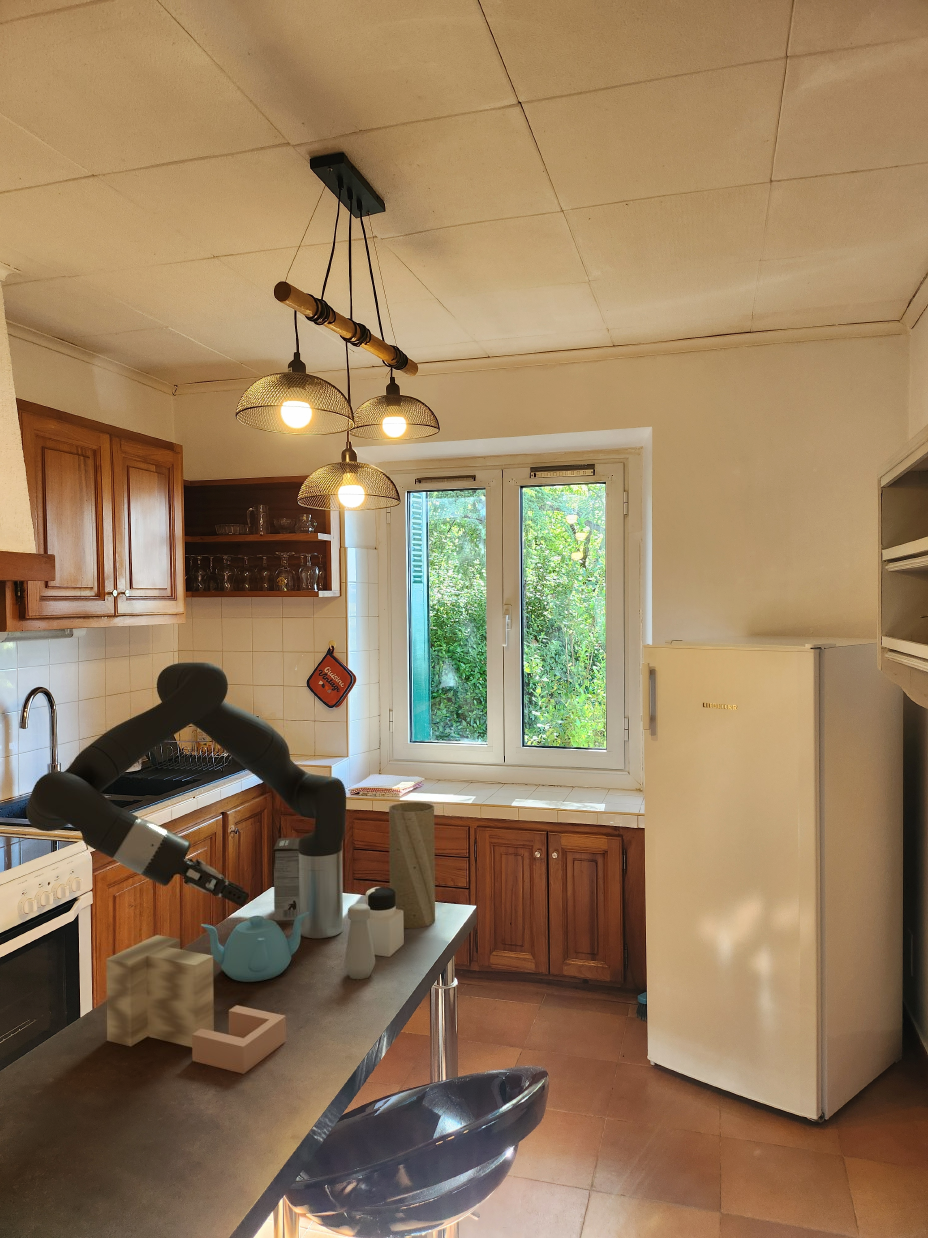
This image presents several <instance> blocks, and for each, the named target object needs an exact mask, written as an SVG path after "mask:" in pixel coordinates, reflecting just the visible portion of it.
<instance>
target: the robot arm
mask: <svg viewBox="0 0 928 1238" xmlns="http://www.w3.org/2000/svg"><path fill="white" fill-rule="evenodd" d="M156 679H157V680H156V692H157V695H158V697H159V699H160V703H158V704H157V705H155V706H153V707H151V708H149V709H148V710H146V711H144V712H141V713H140V714H137V715H135V716H133V717H131V718H129V719H127V720H125V721H123V722H121V723H119V724H117V725H115V726H114V727H112V728H111V729H109V730H107V731H106V732H105V733H103V734H101V736H99V737H98V738H97V739H95V740H94V741H93V742H92V743H90V744H89V745H88V746H86V747H85V748H83V750H81V751H80V753H78V754H77V755H76V757H75V758H73V759H74V760H73V761H72V763H71V764H70V766H68V767H67V768H66V769H65V770H64V771H60V770H59V771H58V770H57V771H51V772H50V771H49V772H48V773H45V774H43V775H42V776H41V777H40V778H39V779H38V780H37V781H36V782H35V785H34V786H33V788H32V791H31V793H30V796H29V799H28V801H27V803H26V804H27V805H26V810H25V811H26V819H27V820H28V822H29V825H31V826H32V827H33V828H35V829H36V830H38V831H42V832H54V831H59V830H61V829H63V828H64V827H66V826H68V825H70V826H72V827H73V828H74V829H76V830H78V831H79V832H80V834H81V835H82V836H81V837H82V841H83V842H84V843H85V844H86V845H87V846H88V847H90V849H94V850H95V851H98V853H101V854H103V855H105V856H107V857H109V858H111V859H113V860H115V861H116V862H118V863H119V864H121V865H122V866H124V867H125V868H127V869H128V870H131V871H132V872H134V873H136V874H139V875H141V876H142V877H144V878H146V879H149V880H151V881H153V882H154V883H157V884H159V885H161V886H163V887H166V886H168V885H169V884H170V883H171V882H172V880H173V878H174V877H175V876H176V875H179V876H181V877H183V878H182V879H183V884H185V885H187V886H189V887H191V888H196V889H197V890H199V891H201V892H202V893H205V894H211V895H212V896H213V897H217V898H223V899H225V900H227V901H229V902H231V903H233V904H235V905H237V906H239V907H244V906H245V905H246V903H247V901H248V900H249V898H250V893H249V892H247V891H245V890H244V887H242V886H240V885H238V884H236V883H235V882H232V881H231V880H228V879H227V878H225V876H223V874H221V873H219V872H218V871H217V869H215V868H213V867H212V866H211V865H210V866H209V865H208V864H207V863H206V862H204V861H202V860H200V859H199V858H196V859H195V860H194V859H193V858H186V856H187V855H188V853H189V852H190V850H191V847H192V844H191V842H190V840H187V839H185V838H184V837H182V836H180V835H179V834H176V833H174V832H172V831H170V830H168V829H166V828H164V827H163V826H161V825H159V824H157V823H154V822H153V821H149V820H147V819H144V818H141V817H139V816H138V815H135V814H134V813H131V812H130V811H128V810H126V809H124V808H122V807H120V806H117V805H116V804H114V803H113V802H112V801H110V800H109V798H107V797H106V796H105V795H104V794H103V793H102V792H103V790H105V789H106V788H107V787H109V786H110V785H111V784H113V783H114V782H115V781H116V780H118V779H119V778H120V777H121V776H122V775H124V774H125V773H126V772H127V771H129V770H130V769H131V768H132V767H133V766H135V764H136V763H137V762H139V761H140V760H141V759H143V758H144V757H145V756H146V755H148V754H149V753H150V752H151V751H153V750H154V749H156V748H157V747H158V746H160V745H162V744H163V743H164V742H165V741H168V740H169V739H170V738H172V737H173V736H175V735H176V734H178V733H179V732H181V731H182V730H184V729H185V728H186V727H188V726H190V725H192V726H194V727H195V728H197V729H198V730H200V731H201V732H203V733H204V734H205V735H206V736H208V738H210V739H211V740H212V741H213V742H214V743H216V745H218V747H220V748H222V749H223V750H224V751H225V752H226V753H228V754H229V755H230V756H231V757H232V758H233V759H234V760H236V762H238V763H239V764H240V765H241V766H243V768H245V769H246V770H248V772H251V773H252V774H253V775H254V776H256V777H257V778H258V779H259V780H260V781H262V782H263V783H264V784H266V785H267V786H268V787H270V788H271V789H272V790H273V791H274V793H276V794H277V795H278V796H279V797H280V799H282V801H283V802H285V804H286V805H287V806H288V807H289V808H290V809H291V810H292V811H293V812H294V813H295V814H296V815H298V816H300V817H303V818H306V819H314V827H313V828H314V829H313V832H310V833H306V834H305V835H302V836H301V837H299V838H300V839H299V843H298V851H299V915H301V914H303V913H306V912H309V913H308V914H307V915H306V916H305V917H304V919H303V921H302V923H301V936H302V937H305V938H309V939H325V938H331V937H334V936H337V935H339V934H341V933H342V932H343V929H344V924H343V923H344V917H343V916H344V915H343V913H344V912H343V911H344V908H343V907H344V906H343V902H344V901H343V900H344V899H343V896H344V895H343V891H344V890H343V841H344V838H345V834H346V820H347V818H346V816H347V815H346V813H347V791H346V787H345V784H344V783H343V781H342V780H341V779H340V778H338V777H336V776H328V775H320V774H312V773H310V772H307V771H305V770H304V769H302V768H301V767H300V766H298V764H296V763H295V762H294V761H293V760H292V759H291V754H290V749H289V745H288V743H287V741H286V740H285V738H284V737H283V735H281V734H280V733H279V732H278V731H277V730H276V729H275V728H274V727H272V726H271V725H270V724H269V723H268V722H267V721H265V720H264V719H262V718H260V717H259V716H256V715H255V714H253V713H251V712H249V711H246V710H244V709H242V708H240V707H237V706H235V705H233V704H231V703H229V702H227V701H225V699H226V696H227V695H228V689H229V684H228V683H229V682H228V678H227V675H226V673H225V672H224V671H223V670H222V668H220V667H219V666H218V665H215V664H213V663H208V662H202V661H201V662H199V661H198V662H178V663H174V664H170V665H168V666H166V667H164V669H162V670H161V671H160V673H159V675H158V676H157V678H156Z"/></svg>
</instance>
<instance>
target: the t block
mask: <svg viewBox="0 0 928 1238" xmlns="http://www.w3.org/2000/svg"><path fill="white" fill-rule="evenodd" d="M105 963H106V1032H107V1033H106V1035H107V1036H106V1040H107V1042H112V1043H116V1044H120V1045H122V1046H123V1045H124V1046H127V1047H132V1046H134V1045H135V1044H137V1043H140V1042H141V1041H142V1040H144V1039H145V1038H147V1037H149V1038H152V1039H153V1038H154V1039H158V1040H160V1041H165V1042H170V1043H173V1044H177V1045H181V1046H185V1047H189V1048H192V1034H194V1033H195V1032H197V1031H198V1030H200V1029H201V1028H202V1029H206V1030H210V1031H214V1032H215V1026H214V1025H215V1022H214V1021H215V1020H214V1019H215V1018H214V1017H215V1012H214V1011H215V1009H214V1004H215V1003H214V958H213V956H212V954H206V953H202V952H200V953H199V952H195V951H191V950H185V949H181V939H180V938H177V937H172V936H171V937H170V936H165V935H160V934H156V935H154V936H152V937H150V938H148V939H146V940H143V941H141V942H140V943H137V944H135V945H133V946H131V947H129V948H127V949H124V950H122V951H120V952H118V953H116V954H114V955H112V956H109V957H107V958H106V962H105Z"/></svg>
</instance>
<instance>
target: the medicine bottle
mask: <svg viewBox="0 0 928 1238" xmlns="http://www.w3.org/2000/svg"><path fill="white" fill-rule="evenodd" d="M365 904H366V905H368V906H369V907H370V911H371V913H370V918H369V919H368V925H369V930H370V935H371V940H372V945H373V951H374V956H379V957H380V956H381V957H389V958H390V957H391V956H392V955H394V953H396V952H397V951H398V950H399V949H400V948H402V946H403V945H404V943H405V939H404V938H405V937H404V935H405V933H404V932H405V931H404V930H405V928H404V921H403V910H398V909H396V893H395V891H394V890H393V889H391V888H390V887H387V886H376V887H372V888H369V889H368V890H367V891H366V892H365Z"/></svg>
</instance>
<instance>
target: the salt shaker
mask: <svg viewBox="0 0 928 1238" xmlns="http://www.w3.org/2000/svg"><path fill="white" fill-rule="evenodd" d="M370 913H371V911H370V907H369V906H368V905H366V903H354V904H352V905H350V906H349V907H348V909H347V918H348V920H349V921H350V923H349V930H348V936H347V942H346V951H345V956H344V968H345V970H346V971H347V974H348V975H349V978H350V979H351V980H352V979H353V980H359V979H360V980H365V979H369V977H370V975H371V974H372V972H373V969H374V967H375V965H376V957H375V956H376V955H374V951H373V945H372V940H371V935H370V930H369V925H368V919H369V918H370Z"/></svg>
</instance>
